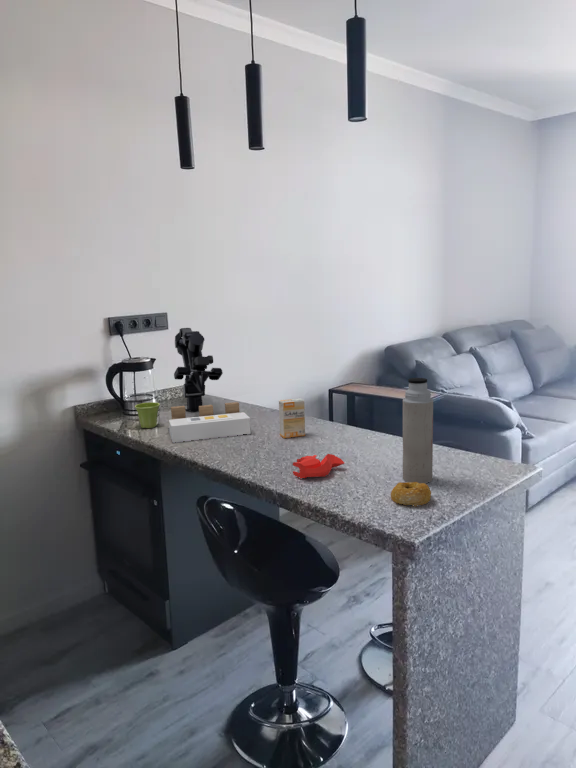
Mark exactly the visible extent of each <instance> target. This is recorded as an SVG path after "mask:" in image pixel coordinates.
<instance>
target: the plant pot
mask: <svg viewBox="0 0 576 768" xmlns="http://www.w3.org/2000/svg"><path fill="white" fill-rule="evenodd" d="M160 405H161V404H160V403H159V402H155V401H154V402H153V401H152V402H143V403H138V404H136V405H134V408H135V411H136V413H137V415H138V420H139V423H140V427H141V428H142V429H153V428H155V427H157V425H158V413H159V407H160Z"/></svg>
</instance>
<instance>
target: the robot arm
mask: <svg viewBox="0 0 576 768" xmlns="http://www.w3.org/2000/svg"><path fill="white" fill-rule="evenodd" d="M204 341H205V337H204V336H203V335H202V333H200V331H199V330H198V331H197V330H196V331H195V330H194V331H193V330H192V328H191V327H182V328H181V327H180V328H179V329H178V333H176V335H175V336H174V347H175V349H176V351H177V354H179V355H180V356H181V357H182V358H181V359H182V361H183V366H177V368H176V369H175V371H174V373H173V378H174V380H183V379H184V383H183V388H182V394H183V397H184V399H186V407H187V408H185V412H193V413H195V412H199V406H203V398H202V397H205V396H206V382H207V380H208V379H209V380H211V381H218V380H220V378H221V377H222V375H223V373H224V372H223V369H222V368H221V367H211V368H210V370H207V369H208V366H210V365H213V363H214V357H213V355H207V356H204V355H203V351H202V350H203V347H204V343H205V342H204ZM184 376H185V378H184Z"/></svg>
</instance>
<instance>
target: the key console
mask: <svg viewBox="0 0 576 768" xmlns="http://www.w3.org/2000/svg"><path fill="white" fill-rule="evenodd" d="M168 425H169V426H168V428H167V431H168V433H169V437H170V440H171V442H172V444H175V442H176V443H183V441H185V442H192V441H191V440H194V441H200V440H199V439H203V440H210V439H209V438H211V439H218V437H220V438H228V437H227V436H229V437H236V436H237V435H238V436H244V435H243V434H247V435H251V434H252V433H251V417H250V416H248V414H247V413H245V411H243V412H240V413H230V414H225V413H222V414H213V415H211V416H201V417H199V416H194V417H191V416H190V417H186V418H181V419H172V418H171V419H168Z"/></svg>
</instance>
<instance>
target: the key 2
mask: <svg viewBox="0 0 576 768" xmlns="http://www.w3.org/2000/svg"><path fill="white" fill-rule="evenodd" d="M230 413H240V403H239V401H235V402H225V403H224V414H230Z"/></svg>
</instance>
